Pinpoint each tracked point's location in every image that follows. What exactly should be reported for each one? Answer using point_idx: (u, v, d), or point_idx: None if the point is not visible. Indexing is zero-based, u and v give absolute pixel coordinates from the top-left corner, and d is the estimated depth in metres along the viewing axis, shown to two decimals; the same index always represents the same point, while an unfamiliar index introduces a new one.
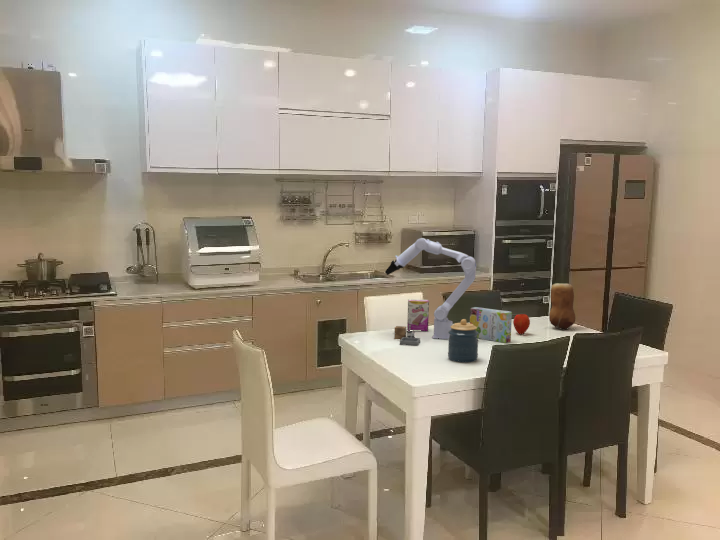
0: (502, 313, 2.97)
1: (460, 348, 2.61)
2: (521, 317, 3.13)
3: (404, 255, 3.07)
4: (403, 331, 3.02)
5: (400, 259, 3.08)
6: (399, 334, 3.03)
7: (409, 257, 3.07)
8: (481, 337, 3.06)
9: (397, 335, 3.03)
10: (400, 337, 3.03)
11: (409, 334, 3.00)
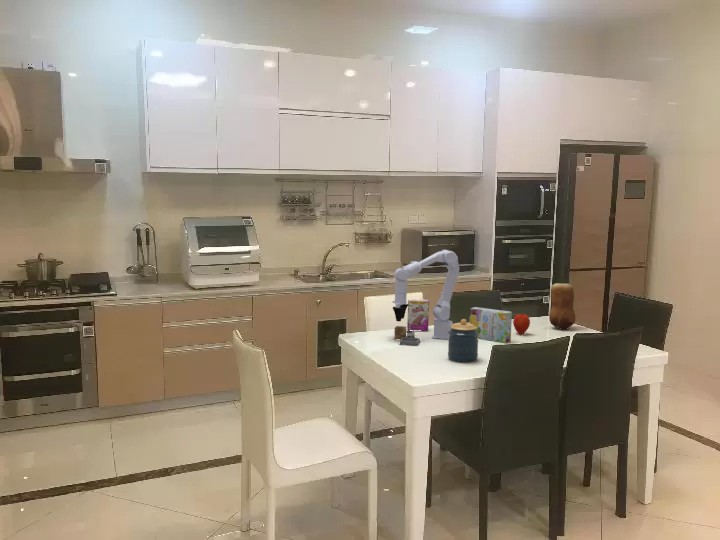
0: (502, 313, 2.97)
1: (460, 348, 2.61)
2: (521, 317, 3.13)
3: (397, 294, 3.01)
4: (403, 331, 3.02)
5: (397, 300, 3.01)
6: (399, 334, 3.03)
7: (404, 292, 3.01)
8: (481, 337, 3.06)
9: (397, 335, 3.03)
10: (400, 337, 3.03)
11: (409, 334, 3.00)
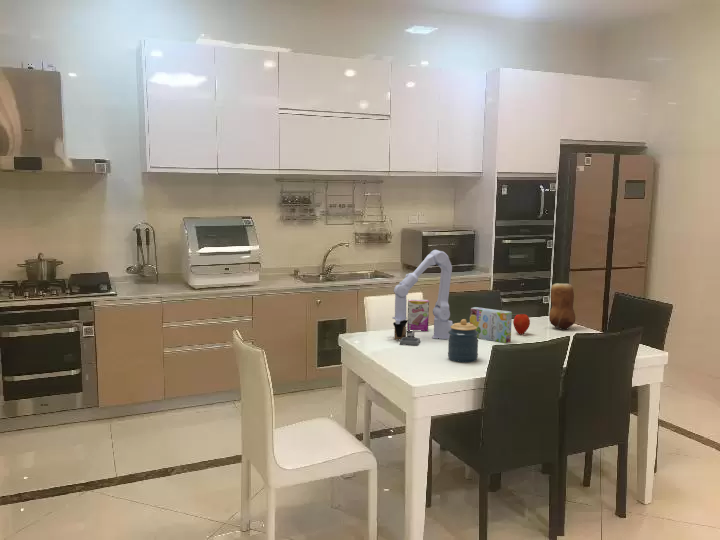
0: (502, 313, 2.97)
1: (460, 348, 2.61)
2: (521, 317, 3.13)
3: (397, 311, 3.01)
4: (403, 331, 3.02)
5: (397, 316, 3.02)
6: None
7: (404, 308, 3.01)
8: (481, 337, 3.06)
9: None
10: (400, 337, 3.03)
11: (409, 334, 3.00)
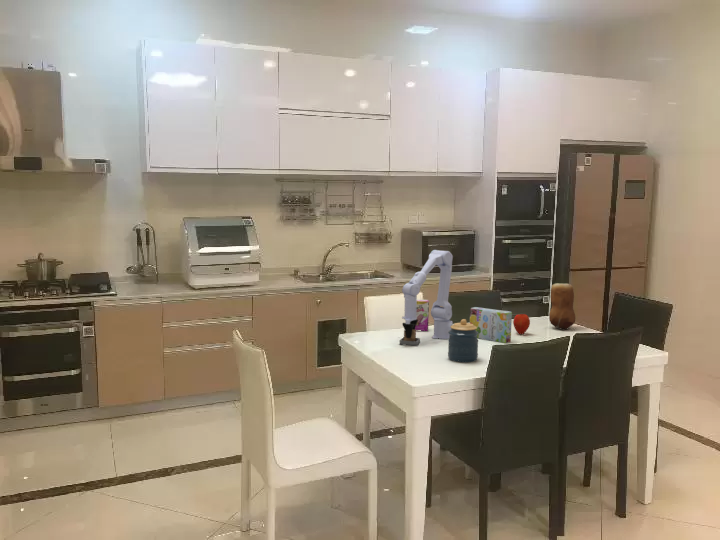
0: (502, 313, 2.97)
1: (460, 348, 2.61)
2: (521, 317, 3.13)
3: (407, 310, 2.91)
4: (413, 334, 2.92)
5: (407, 316, 2.92)
6: (409, 338, 2.93)
7: (416, 307, 2.93)
8: (481, 337, 3.06)
9: (407, 338, 2.93)
10: (410, 340, 2.93)
11: None
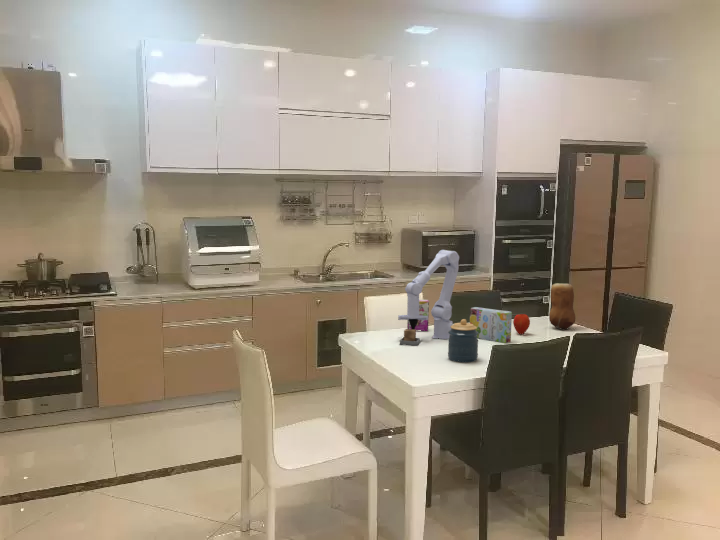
0: (502, 313, 2.97)
1: (460, 348, 2.61)
2: (521, 317, 3.13)
3: None
4: (413, 334, 2.92)
5: None
6: (409, 338, 2.93)
7: (418, 306, 2.98)
8: (481, 337, 3.06)
9: (407, 338, 2.93)
10: (410, 340, 2.93)
11: None
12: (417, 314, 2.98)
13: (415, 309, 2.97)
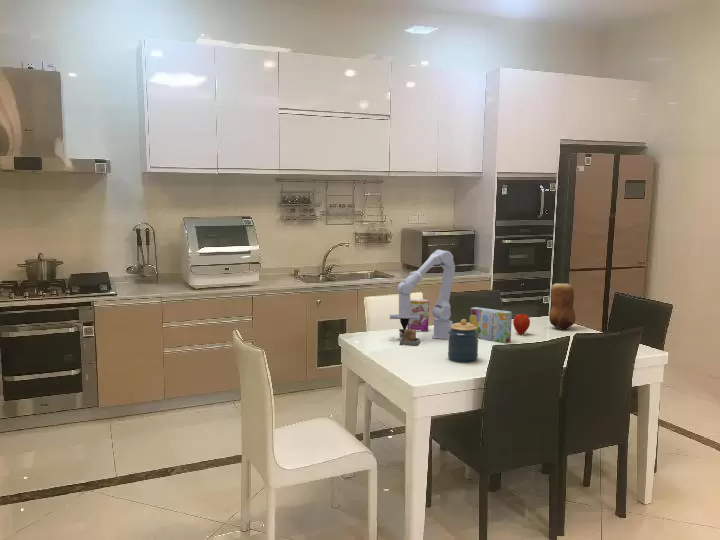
0: (502, 313, 2.97)
1: (460, 348, 2.61)
2: (521, 317, 3.13)
3: None
4: (413, 334, 2.92)
5: None
6: (409, 338, 2.93)
7: (409, 306, 2.99)
8: (481, 337, 3.06)
9: (407, 338, 2.93)
10: (410, 340, 2.93)
11: None
12: (408, 314, 2.99)
13: (405, 309, 2.98)
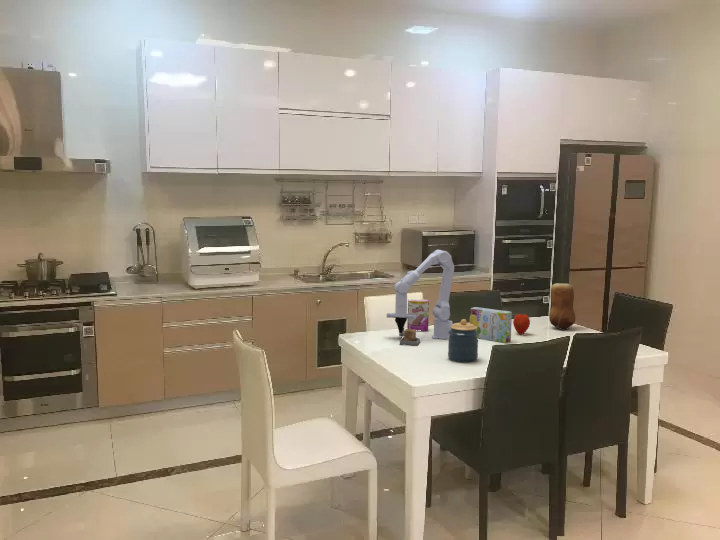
0: (502, 313, 2.97)
1: (460, 348, 2.61)
2: (521, 317, 3.13)
3: None
4: (413, 334, 2.92)
5: None
6: (409, 338, 2.93)
7: (405, 305, 3.01)
8: (481, 337, 3.06)
9: (407, 338, 2.93)
10: (410, 340, 2.93)
11: None
12: (404, 313, 3.01)
13: (401, 308, 3.00)
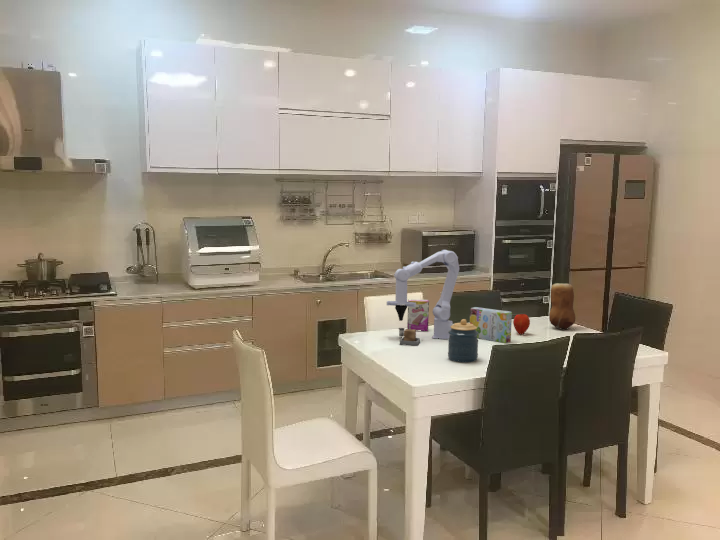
0: (502, 313, 2.97)
1: (460, 348, 2.61)
2: (521, 317, 3.13)
3: None
4: (413, 334, 2.92)
5: None
6: (409, 338, 2.93)
7: (405, 292, 3.00)
8: (481, 337, 3.06)
9: (407, 338, 2.93)
10: (410, 340, 2.93)
11: (399, 331, 3.08)
12: (404, 300, 3.00)
13: (401, 295, 3.00)
